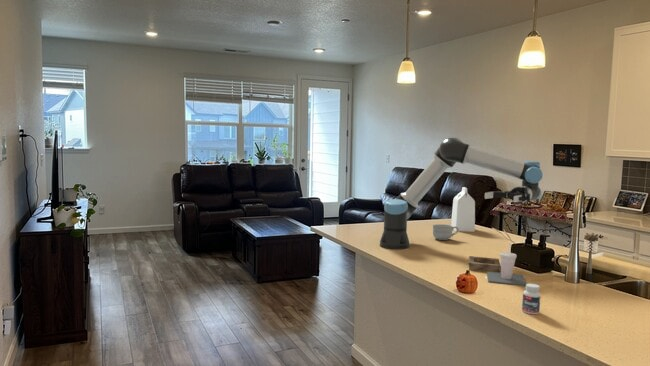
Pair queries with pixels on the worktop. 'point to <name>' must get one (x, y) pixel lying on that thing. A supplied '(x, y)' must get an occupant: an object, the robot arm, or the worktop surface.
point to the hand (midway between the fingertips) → (499, 197)
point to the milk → (463, 212)
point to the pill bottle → (531, 299)
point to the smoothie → (507, 263)
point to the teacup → (443, 231)
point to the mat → (515, 279)
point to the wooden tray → (484, 264)
